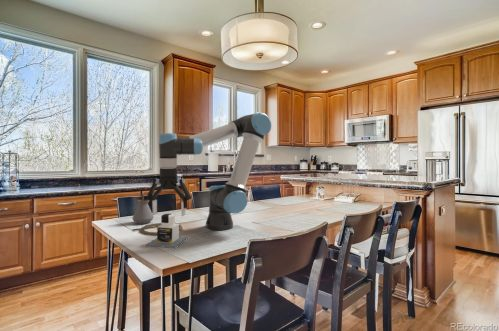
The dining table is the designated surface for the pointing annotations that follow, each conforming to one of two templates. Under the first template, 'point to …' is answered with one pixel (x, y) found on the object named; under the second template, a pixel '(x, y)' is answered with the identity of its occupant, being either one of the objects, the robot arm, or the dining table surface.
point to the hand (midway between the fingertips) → (169, 215)
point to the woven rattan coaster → (152, 226)
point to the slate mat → (174, 244)
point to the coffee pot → (143, 212)
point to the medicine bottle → (168, 229)
